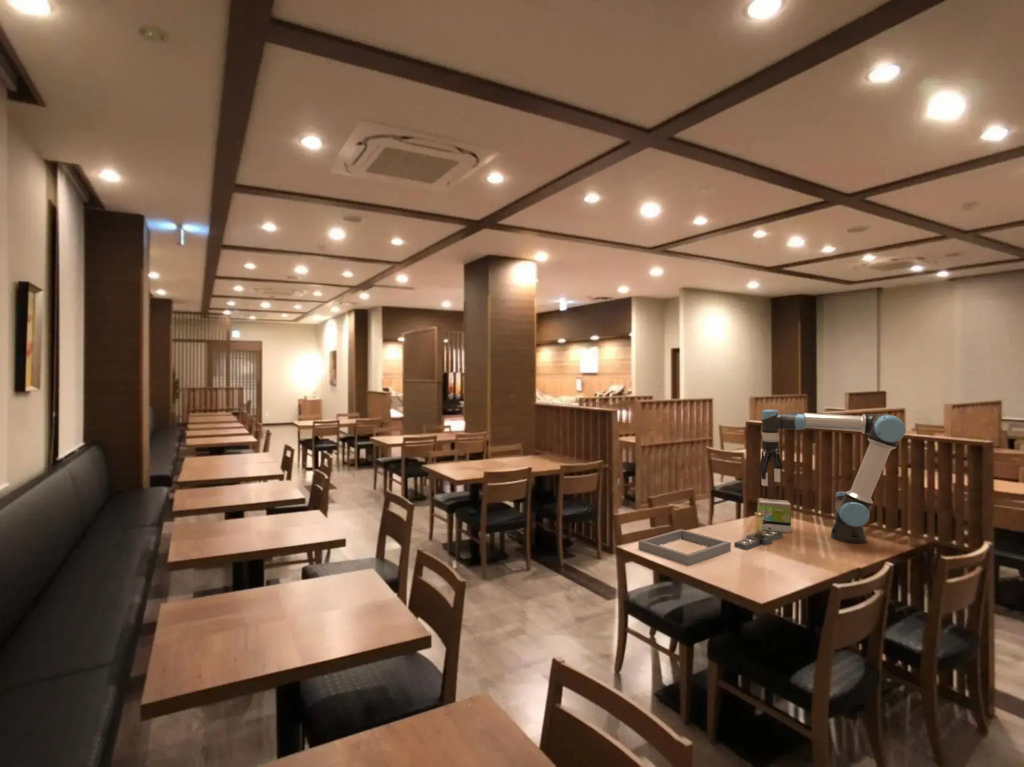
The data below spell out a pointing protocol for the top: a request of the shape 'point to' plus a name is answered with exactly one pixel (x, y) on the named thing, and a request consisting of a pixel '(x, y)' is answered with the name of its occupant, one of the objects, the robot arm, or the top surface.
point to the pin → (759, 525)
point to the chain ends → (758, 540)
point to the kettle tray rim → (688, 559)
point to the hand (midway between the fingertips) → (771, 483)
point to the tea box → (775, 514)
